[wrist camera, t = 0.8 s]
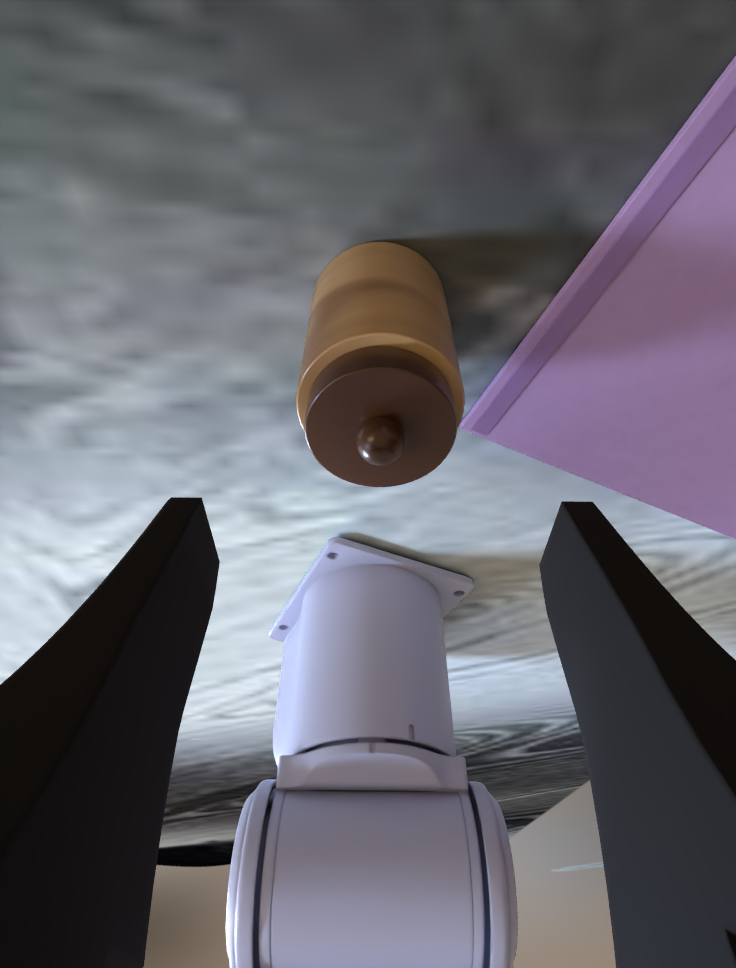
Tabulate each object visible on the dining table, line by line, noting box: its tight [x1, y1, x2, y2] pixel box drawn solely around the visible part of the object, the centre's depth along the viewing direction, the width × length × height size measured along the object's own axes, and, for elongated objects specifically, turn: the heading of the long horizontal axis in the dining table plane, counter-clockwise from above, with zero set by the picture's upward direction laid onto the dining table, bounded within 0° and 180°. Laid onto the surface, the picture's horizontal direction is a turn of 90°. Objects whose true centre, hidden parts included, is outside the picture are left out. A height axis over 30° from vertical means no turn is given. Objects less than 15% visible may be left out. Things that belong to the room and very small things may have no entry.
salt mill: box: [296, 242, 465, 487], centre depth 16 cm, size 4×4×8 cm
